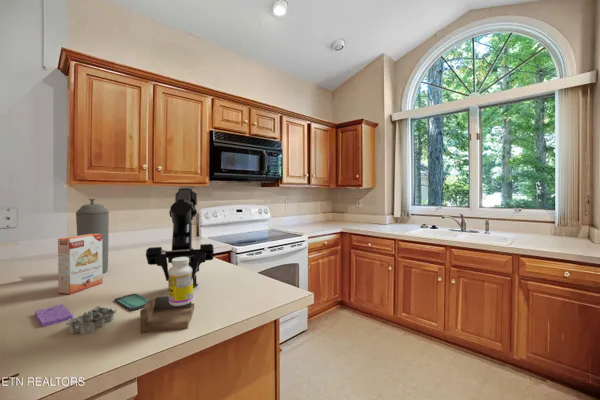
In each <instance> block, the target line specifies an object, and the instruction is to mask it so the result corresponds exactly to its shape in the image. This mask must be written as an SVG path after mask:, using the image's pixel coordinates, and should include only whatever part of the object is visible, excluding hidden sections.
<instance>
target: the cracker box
mask: <svg viewBox="0 0 600 400" xmlns="http://www.w3.org/2000/svg"><path fill="white" fill-rule="evenodd" d="M57 278H58V279H57V282H58V284H57V285H58V286H57V289H58V291H57V292H58V294H66V295H72V294H74V293H77V292H80V291H84V290H86V289H89V288H91V287H94V286H95V287H96V286H97V285H100V284H102V283H103V273H102V234H87V235H80V236H77V235H75V236H67V237H60V238H57Z"/></svg>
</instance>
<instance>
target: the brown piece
mask: <svg viewBox="0 0 600 400" xmlns="http://www.w3.org/2000/svg"><path fill="white" fill-rule="evenodd" d="M157 296H159V293H154V294H153V295H152V296H151V297H150V298H149V299H148V300H149V301H148V302H147V303H146V305H145V306H144V307H143V309H140V310H139V311H140V314H139V315H140V317H139V320H140V321H139V322H140V327H139V330H140V334H147V333H157V332H165V331H167V332H168V331H175V330H186V329H189V326H190V323H191V320H192V317H193V314H194V311H195V303H193V302H192V306H191V308H180V309H168V310H157V311H156V297H157Z"/></svg>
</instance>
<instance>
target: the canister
mask: <svg viewBox="0 0 600 400" xmlns="http://www.w3.org/2000/svg"><path fill="white" fill-rule="evenodd" d="M88 200H89V201H90V203H89V204H84V205H82V206H80V208H78V210H77V211H76V212H75V223H76V224H75V225H76V236H80V235H87V234H102V274H104V273H106V272H108V270H109V230H110V229H109V225H110V223H109V217H110V215H109V213H110V212H109V210H108V209H107V208H106V207H105V206H104V205H102V204H98V203H97V204H95V201H96V199H95V198H89V199H88Z"/></svg>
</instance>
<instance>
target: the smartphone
mask: <svg viewBox="0 0 600 400" xmlns="http://www.w3.org/2000/svg"><path fill="white" fill-rule="evenodd" d="M149 300H150V299H148V298H145V297H144V296H142V295H140V294H139V293H131V294H128V295H127V294H125V295H123V296H120V297H117V298H114V300H113V301H114V302H115V303H117V304H119V305H120V307H121V308H124V309H125V310H127V311H129V312H132V311H133V312H136V311H140V310H142V308H143V307H144V306H145V305H146V303H147V302H148V301H149ZM139 309H140V310H139Z"/></svg>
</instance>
